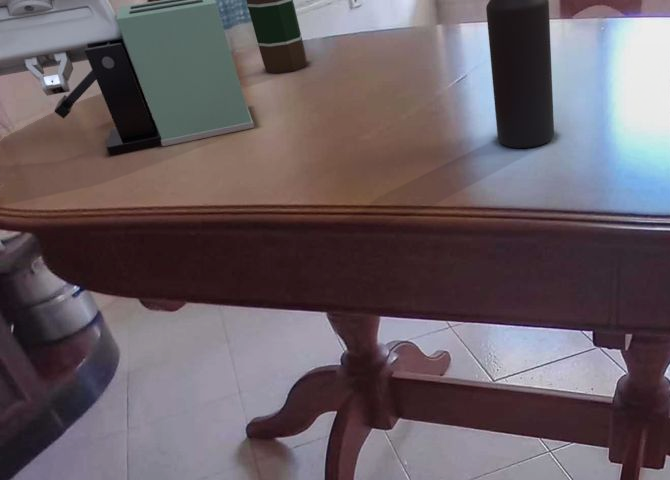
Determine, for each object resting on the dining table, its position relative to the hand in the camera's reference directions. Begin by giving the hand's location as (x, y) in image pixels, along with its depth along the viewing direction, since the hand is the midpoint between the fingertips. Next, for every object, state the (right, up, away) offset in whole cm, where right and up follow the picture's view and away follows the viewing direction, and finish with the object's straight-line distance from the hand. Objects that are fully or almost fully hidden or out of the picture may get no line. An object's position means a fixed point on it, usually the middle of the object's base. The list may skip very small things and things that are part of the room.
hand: (56, 91), depth 92 cm
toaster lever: (+4, +1, +1) cm, 5 cm away
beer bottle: (+21, +16, +33) cm, 42 cm away
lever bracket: (+8, -4, +7) cm, 11 cm away
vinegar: (+61, -9, -7) cm, 62 cm away
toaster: (+16, -2, +9) cm, 19 cm away
